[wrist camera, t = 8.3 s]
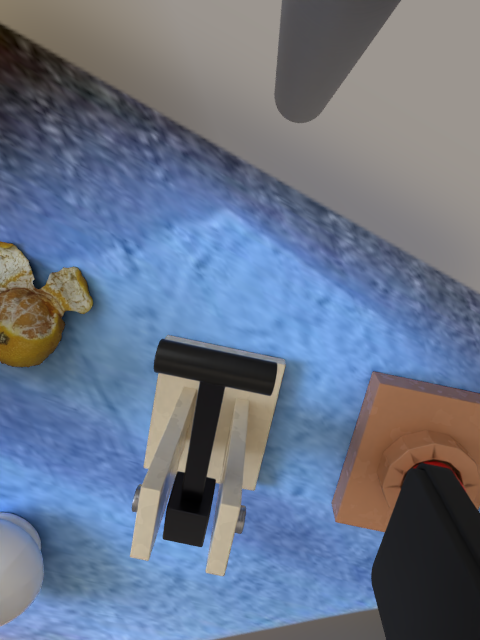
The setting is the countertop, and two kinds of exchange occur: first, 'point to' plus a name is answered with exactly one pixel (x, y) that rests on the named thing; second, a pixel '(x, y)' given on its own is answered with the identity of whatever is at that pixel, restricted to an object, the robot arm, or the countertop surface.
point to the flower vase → (18, 566)
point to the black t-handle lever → (204, 426)
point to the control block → (405, 445)
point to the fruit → (35, 308)
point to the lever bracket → (225, 463)
